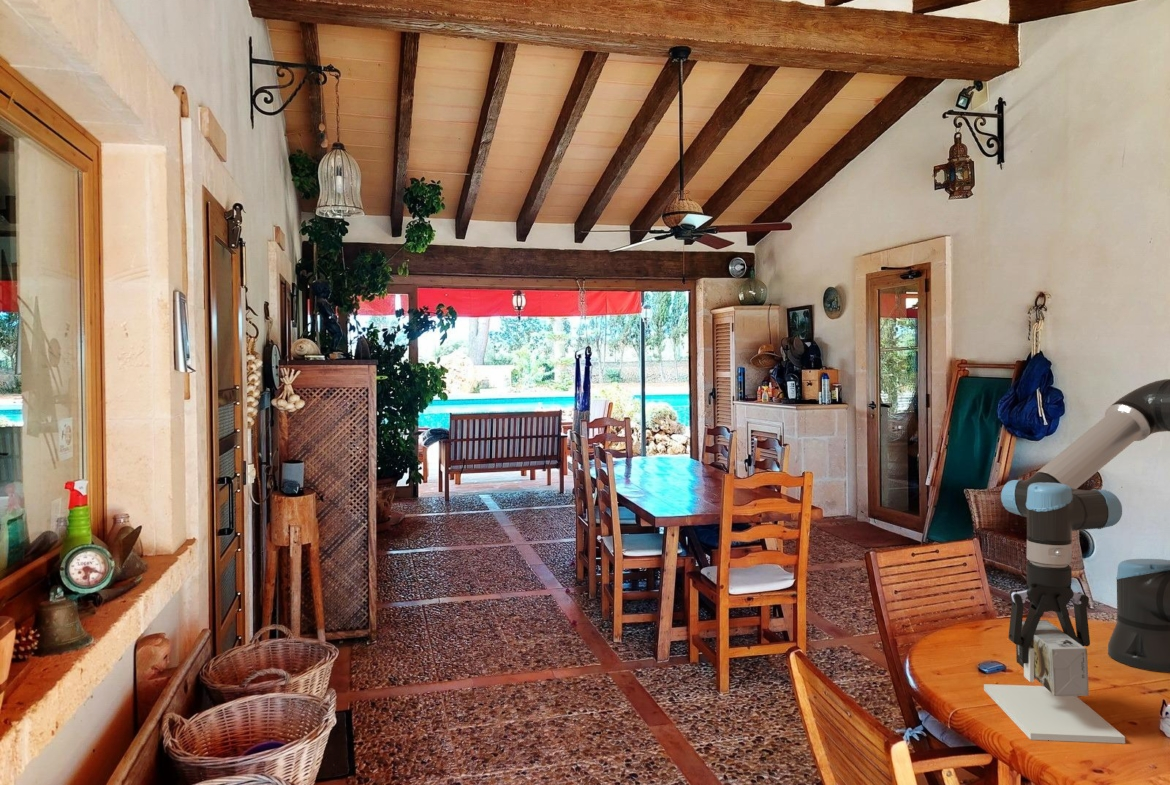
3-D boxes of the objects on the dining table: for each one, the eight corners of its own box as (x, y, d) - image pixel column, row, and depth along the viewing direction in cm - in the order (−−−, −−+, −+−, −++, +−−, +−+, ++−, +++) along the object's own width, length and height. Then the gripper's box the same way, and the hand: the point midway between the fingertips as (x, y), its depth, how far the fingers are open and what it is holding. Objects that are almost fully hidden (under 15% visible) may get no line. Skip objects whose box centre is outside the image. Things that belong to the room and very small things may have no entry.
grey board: (1064, 692, 160) (1064, 686, 160) (1125, 743, 138) (1125, 737, 138) (983, 689, 162) (983, 684, 162) (1030, 739, 141) (1030, 733, 140)
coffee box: (1052, 696, 142) (1015, 663, 158) (1090, 696, 141) (1049, 663, 157) (1050, 647, 142) (1013, 619, 158) (1088, 647, 141) (1047, 619, 157)
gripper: (1003, 567, 147) (1003, 685, 148) (1113, 568, 145) (1113, 689, 145) (988, 557, 154) (988, 670, 155) (1092, 559, 152) (1092, 674, 153)
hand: (1048, 679), depth 150 cm, fingers closed on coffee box, 6 cm apart
